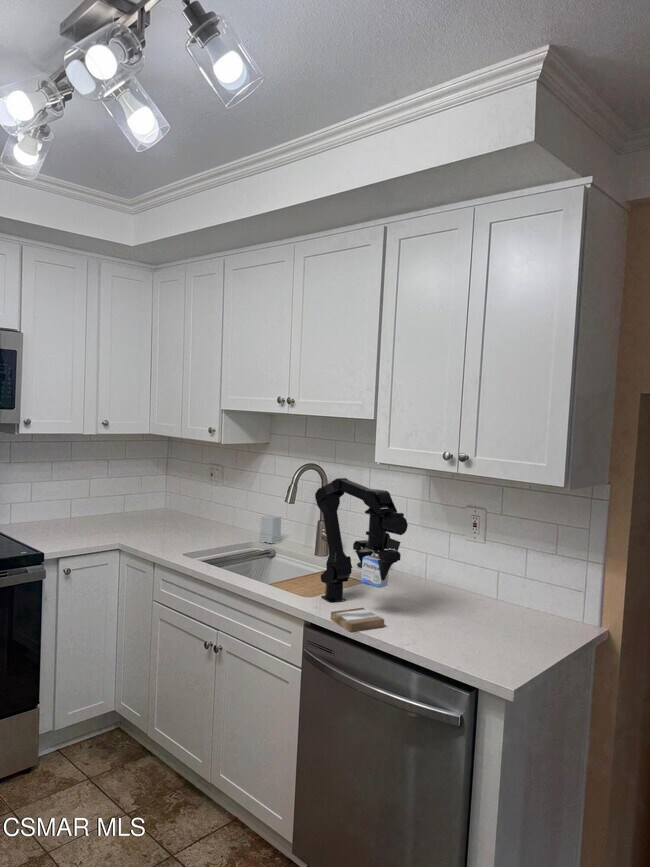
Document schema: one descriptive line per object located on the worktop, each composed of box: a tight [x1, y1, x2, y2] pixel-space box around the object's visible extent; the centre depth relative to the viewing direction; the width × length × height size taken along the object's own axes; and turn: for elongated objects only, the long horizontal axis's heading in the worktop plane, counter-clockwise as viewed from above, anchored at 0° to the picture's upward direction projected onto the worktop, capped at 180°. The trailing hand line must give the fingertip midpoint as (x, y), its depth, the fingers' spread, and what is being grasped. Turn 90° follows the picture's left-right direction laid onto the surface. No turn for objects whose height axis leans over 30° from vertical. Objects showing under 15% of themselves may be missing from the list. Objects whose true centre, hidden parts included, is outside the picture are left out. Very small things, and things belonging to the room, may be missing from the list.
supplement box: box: [259, 514, 282, 544], centre depth 307 cm, size 7×7×13 cm
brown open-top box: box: [330, 607, 385, 633], centre depth 197 cm, size 12×12×3 cm
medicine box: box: [360, 555, 390, 589], centre depth 207 cm, size 8×4×9 cm, turn 53°
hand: (374, 576), depth 207 cm, fingers closed on medicine box, 9 cm apart
